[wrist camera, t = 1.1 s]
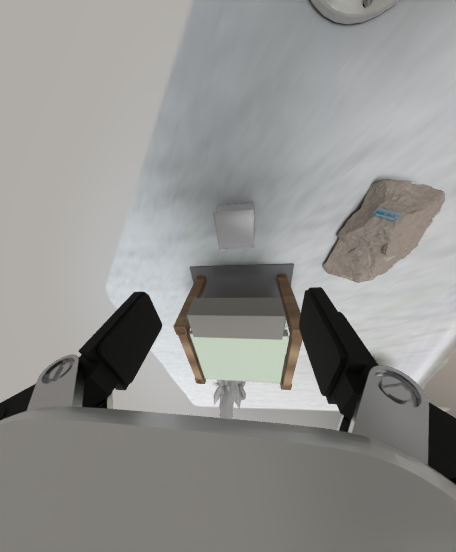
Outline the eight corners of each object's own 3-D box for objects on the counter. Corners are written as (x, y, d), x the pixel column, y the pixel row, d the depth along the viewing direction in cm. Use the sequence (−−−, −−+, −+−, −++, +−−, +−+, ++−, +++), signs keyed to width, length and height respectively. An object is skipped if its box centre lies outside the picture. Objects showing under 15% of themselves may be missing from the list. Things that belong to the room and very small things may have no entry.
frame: (197, 275, 32) (173, 326, 21) (285, 273, 30) (306, 329, 19) (209, 328, 40) (196, 383, 30) (278, 329, 38) (290, 389, 28)
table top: (190, 266, 31) (189, 267, 31) (293, 263, 28) (293, 264, 28) (207, 333, 42) (206, 334, 41) (282, 335, 39) (283, 336, 39)
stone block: (219, 205, 24) (213, 212, 20) (252, 202, 24) (253, 209, 20) (223, 236, 27) (218, 248, 23) (253, 235, 26) (254, 247, 22)
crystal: (253, 375, 51) (255, 441, 39) (237, 390, 58) (235, 450, 46) (224, 366, 50) (216, 431, 38) (212, 383, 57) (202, 442, 45)
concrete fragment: (314, 265, 28) (328, 286, 23) (370, 175, 21) (410, 176, 16) (351, 275, 29) (373, 298, 24) (421, 189, 21) (476, 195, 16)
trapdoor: (186, 298, 21) (178, 315, 19) (289, 297, 19) (295, 316, 17) (207, 367, 30) (203, 384, 28) (278, 371, 29) (281, 390, 26)
